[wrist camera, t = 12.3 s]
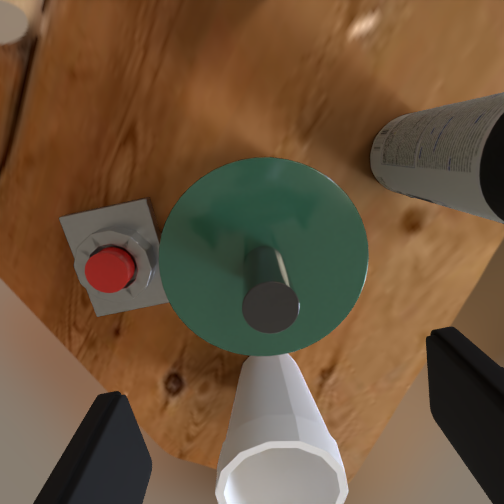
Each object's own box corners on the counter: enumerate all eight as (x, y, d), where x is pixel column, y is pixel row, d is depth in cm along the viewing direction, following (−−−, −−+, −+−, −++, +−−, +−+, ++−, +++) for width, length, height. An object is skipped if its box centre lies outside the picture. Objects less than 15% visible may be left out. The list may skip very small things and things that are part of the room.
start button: (87, 251, 29) (77, 257, 27) (127, 242, 29) (120, 248, 27) (101, 288, 30) (93, 297, 28) (140, 280, 30) (134, 288, 28)
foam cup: (226, 409, 37) (216, 539, 25) (224, 336, 35) (213, 442, 22) (310, 408, 38) (343, 537, 25) (315, 336, 35) (354, 440, 22)
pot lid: (135, 182, 21) (84, 198, 14) (350, 135, 21) (403, 129, 14) (191, 363, 25) (171, 442, 18) (372, 328, 25) (421, 397, 18)
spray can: (377, 202, 31) (591, 292, 12) (358, 129, 29) (578, 93, 10) (448, 177, 30) (797, 227, 11) (434, 100, 28) (826, 2, 9)
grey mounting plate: (65, 214, 31) (46, 221, 28) (149, 196, 30) (139, 201, 27) (101, 311, 34) (88, 326, 31) (179, 295, 33) (173, 309, 30)
